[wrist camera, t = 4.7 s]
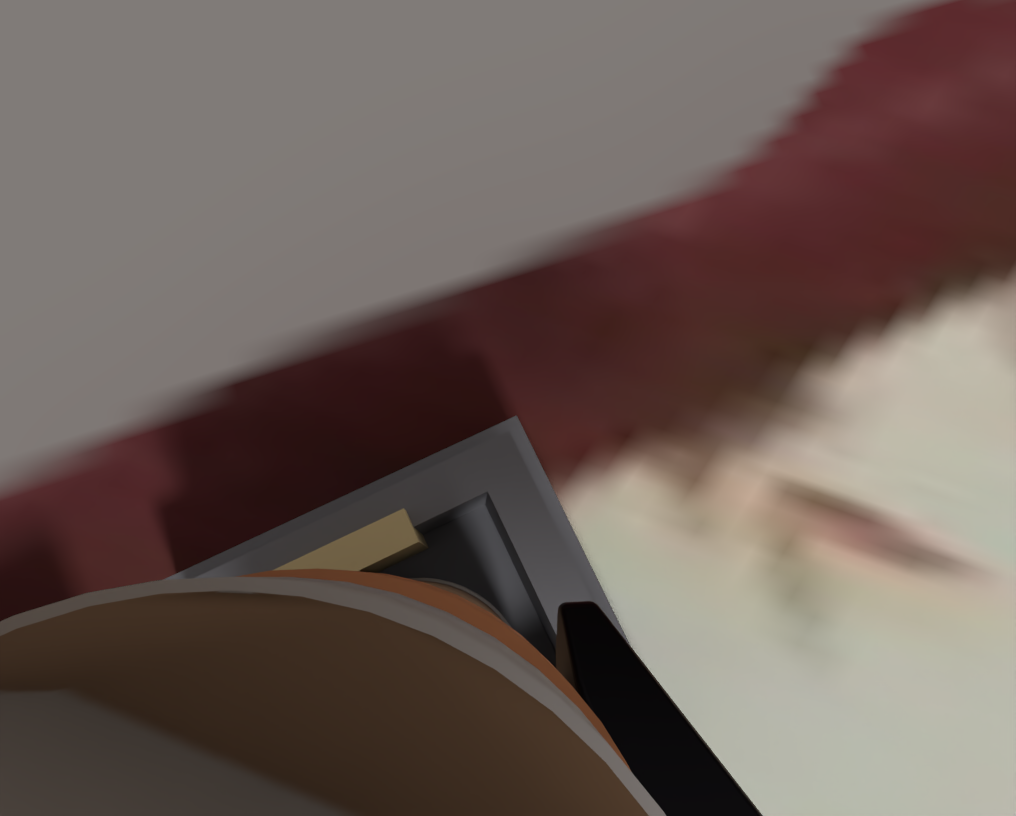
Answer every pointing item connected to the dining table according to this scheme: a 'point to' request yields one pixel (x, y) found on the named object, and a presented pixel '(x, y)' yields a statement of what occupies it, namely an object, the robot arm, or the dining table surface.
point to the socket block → (446, 534)
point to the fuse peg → (295, 705)
